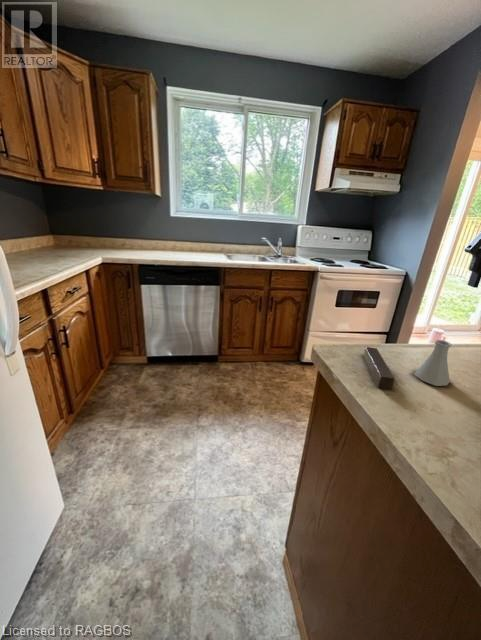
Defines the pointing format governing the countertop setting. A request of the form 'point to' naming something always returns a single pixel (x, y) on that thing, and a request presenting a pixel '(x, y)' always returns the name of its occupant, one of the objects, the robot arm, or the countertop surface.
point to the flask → (436, 365)
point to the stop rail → (378, 368)
